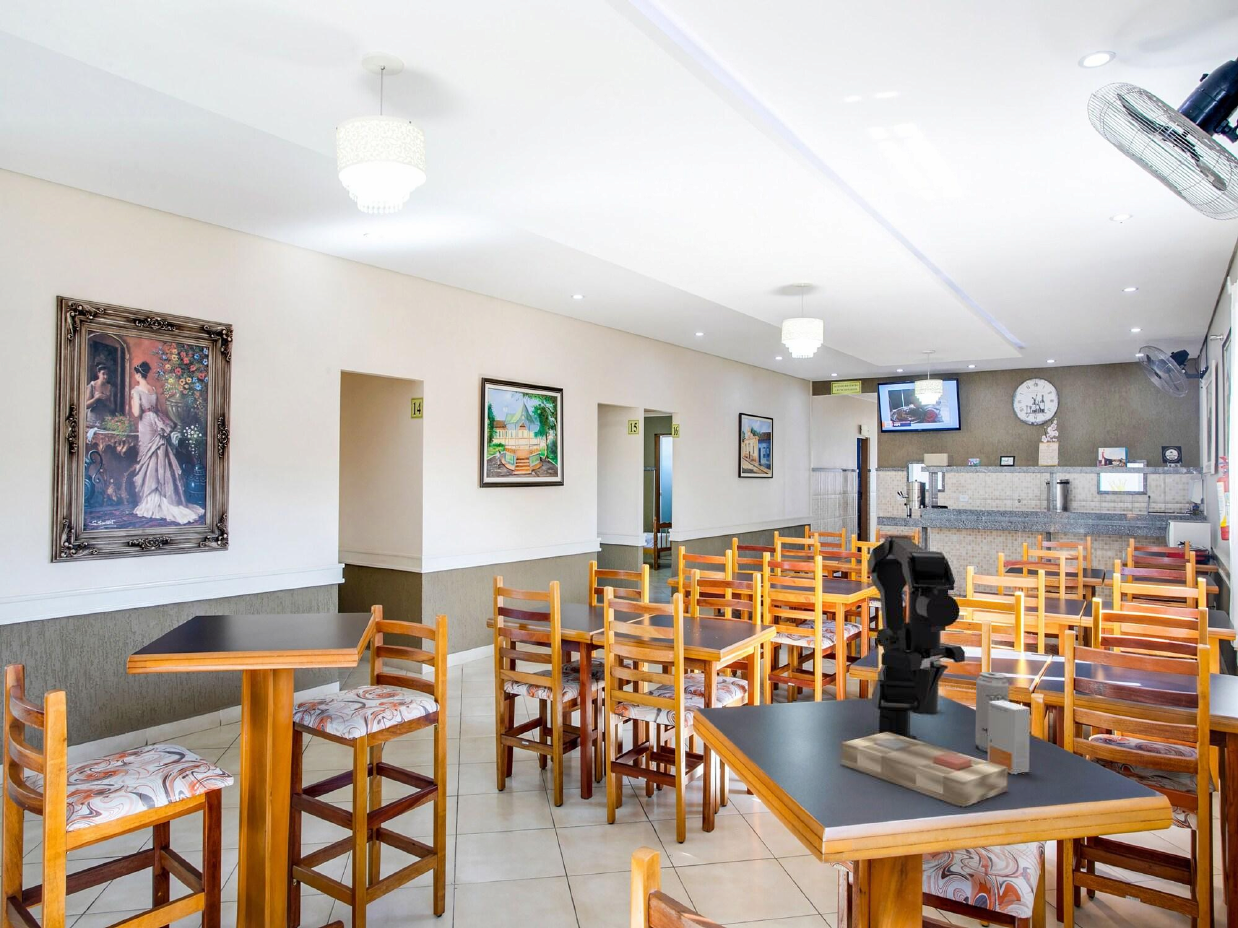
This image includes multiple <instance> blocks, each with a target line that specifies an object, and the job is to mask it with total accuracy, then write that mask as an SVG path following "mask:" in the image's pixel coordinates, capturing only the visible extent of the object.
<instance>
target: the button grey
mask: <svg viewBox="0 0 1238 928" xmlns="http://www.w3.org/2000/svg"><path fill="white" fill-rule="evenodd" d="M875 745H877V746H881V747H884V748H887V749H890V750H893V751H899V750H903V749H907V748H910V744H908V743H904V742H901V741H898V740H894V739H891V738H887V739H883V740H879V741H875Z"/></svg>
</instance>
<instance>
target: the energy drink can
mask: <svg viewBox="0 0 1238 928" xmlns="http://www.w3.org/2000/svg"><path fill="white" fill-rule="evenodd" d="M975 684H976V687H975V689H976V690H975V691H976V692H975V744H976V745H977V747H978V749H979V750H981V751H983V752H987V753H988V712H989V702H990V701H1000V700H1004V701H1008V702H1010V683H1009V682H1008V680H1007V676H1006V675H1005V674H1002V673H997V672H990V671H981V672H979V676H978V678H977V679H976V682H975Z"/></svg>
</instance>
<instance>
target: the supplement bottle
mask: <svg viewBox="0 0 1238 928" xmlns="http://www.w3.org/2000/svg"><path fill="white" fill-rule="evenodd" d="M939 681H940V680H939ZM939 681H938V683H937V684H936V686H935V688H934V690H933V692H932V694H931V695H930V697H929V699H928V701H927V702H926V703H922V702H920V708H919V712H916V711H912V712H915V713H918V714H923V715H934V714H937V712H938V710H939V685H940V682H939Z"/></svg>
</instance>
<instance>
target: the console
mask: <svg viewBox="0 0 1238 928" xmlns="http://www.w3.org/2000/svg"><path fill="white" fill-rule="evenodd" d="M887 738H891V739H894V740H898V741H901V742H904V743H908V744H910V748H907V749H903V750H899V751H893V750H890V749H887V748H884V747H881V746H877V745H875V741H879V740H883V739H887ZM944 753H952V754H955V755H958V756H962V757H965V758H968V759H972V762H971V767H969V768H966V769H963V770H960V771H956V770H953V769H950V768H947V767H944V766H941V765H937V764H934V756H937V755H941V754H944ZM840 760H841V765H842V766H844V767H847V768H850V769H854V770H856V771H859V772H862V773H865V774H867V775H870V776H874V777H875V778H878V779H882V780H884V781H888V782H889V783H893V784H896V785H899V786H901V787H904V788H907V789H910V790H913V791H915V792H918V793H921V794H924V795H927V796H929V797H932V798H936V799H938V800H941V801H944V802H946V803H949V804H952V805H955V806H958V807H960V806H962V807H961V808H966V807H968V806H971V805H973V803H974V804H976V803H978V801H979V802H981V800H982V801H983V800H986V798H987V799H989V798H992V797H995V796H997V795H1000V794H1003V793H1005V792H1008V772H1007V767H1004V766H1001V765H997V764H994V763H991V762H987V760H984V759H980V758H977V757H973V756H970V755H966V754H963V753H960V752H956V751H954V750H950V749H946V748H944V747H939V746H935V745H934V744H933V745H932V744H929V743H926V742H923V741H919V740H917V739H915V740H913V739H910V738H906V737H903V736H900V735H896V734H893V733H890V732H884V733H880V734H876V735H873V734H871V735H868V736H864V737H860V738H855V739H852V740H847V741H843V742H841V759H840ZM965 806H966V807H965Z"/></svg>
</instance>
